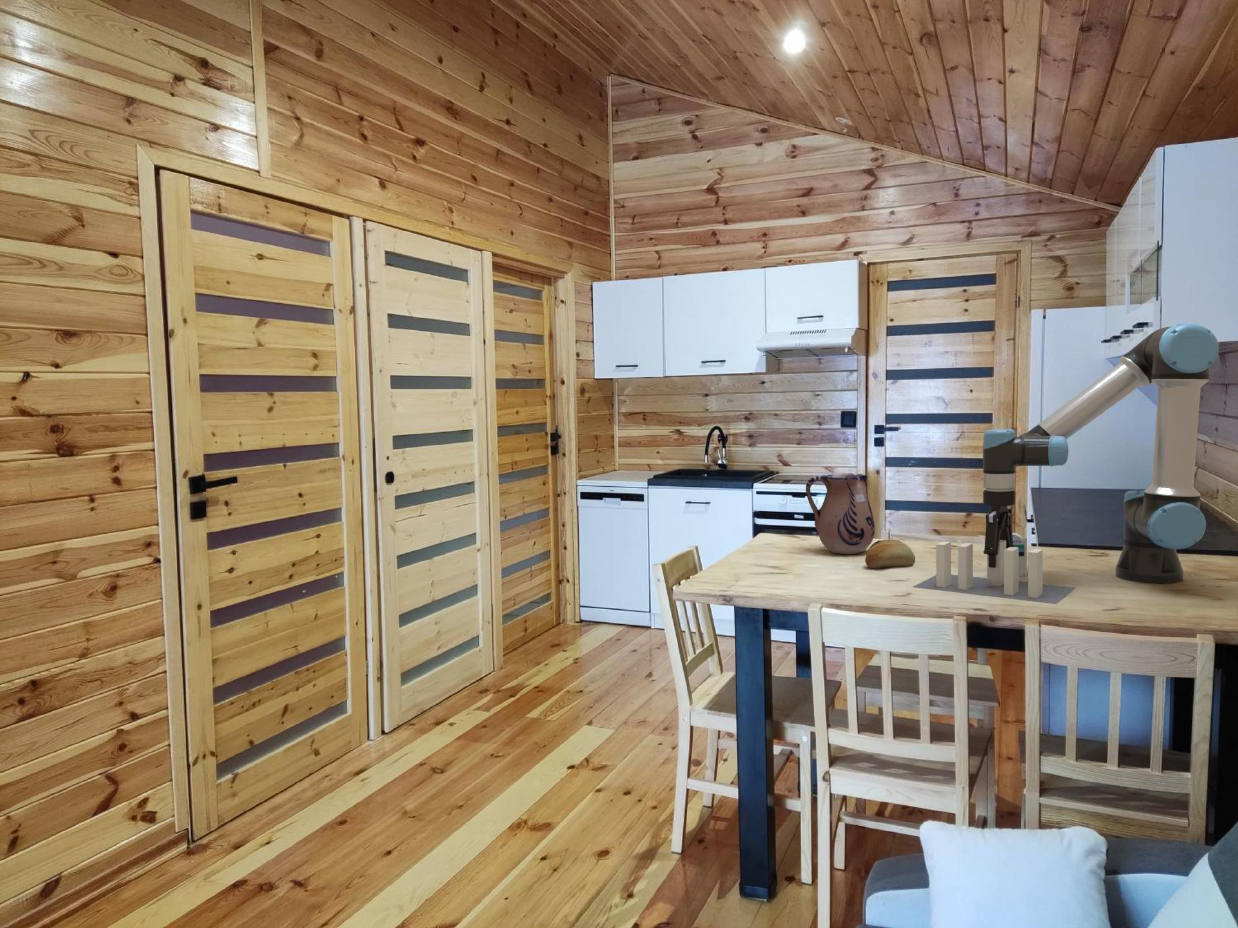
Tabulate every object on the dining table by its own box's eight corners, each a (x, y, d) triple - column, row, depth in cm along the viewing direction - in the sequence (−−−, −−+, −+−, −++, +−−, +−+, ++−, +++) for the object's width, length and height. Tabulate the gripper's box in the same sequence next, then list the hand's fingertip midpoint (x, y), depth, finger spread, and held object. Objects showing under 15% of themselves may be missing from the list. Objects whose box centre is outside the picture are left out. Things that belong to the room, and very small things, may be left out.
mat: (1076, 589, 213) (1076, 587, 213) (1056, 605, 198) (1056, 603, 198) (939, 574, 235) (939, 573, 235) (912, 588, 220) (912, 586, 220)
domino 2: (972, 586, 218) (972, 543, 217) (966, 590, 214) (966, 546, 213) (964, 585, 219) (964, 543, 218) (958, 589, 215) (957, 546, 215)
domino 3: (1006, 582, 221) (1006, 540, 220) (1000, 585, 217) (1000, 543, 217) (997, 581, 222) (997, 539, 222) (992, 584, 219) (991, 542, 218)
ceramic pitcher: (882, 556, 264) (881, 476, 262) (813, 558, 264) (812, 478, 263) (866, 546, 282) (865, 471, 280) (802, 548, 282) (801, 473, 280)
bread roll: (858, 565, 252) (857, 539, 251) (904, 562, 254) (904, 536, 254) (873, 572, 242) (873, 544, 241) (921, 568, 245) (921, 541, 244)
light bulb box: (1027, 578, 228) (1027, 538, 227) (1000, 577, 229) (1000, 538, 228) (1017, 570, 238) (1017, 531, 237) (991, 569, 239) (991, 532, 239)
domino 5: (1042, 594, 207) (1042, 549, 206) (1037, 598, 203) (1037, 552, 203) (1033, 593, 209) (1033, 548, 208) (1028, 597, 205) (1028, 552, 204)
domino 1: (951, 583, 221) (950, 542, 221) (944, 587, 218) (944, 545, 217) (943, 582, 223) (943, 541, 222) (936, 586, 219) (936, 544, 218)
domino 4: (1018, 591, 211) (1018, 547, 210) (1012, 595, 207) (1012, 550, 206) (1010, 590, 212) (1010, 546, 211) (1003, 594, 208) (1003, 550, 207)
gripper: (996, 484, 229) (996, 567, 230) (970, 493, 212) (970, 582, 214) (1026, 485, 224) (1026, 570, 226) (1001, 494, 208) (1001, 585, 209)
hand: (999, 576), depth 220 cm, fingers open, 9 cm apart
